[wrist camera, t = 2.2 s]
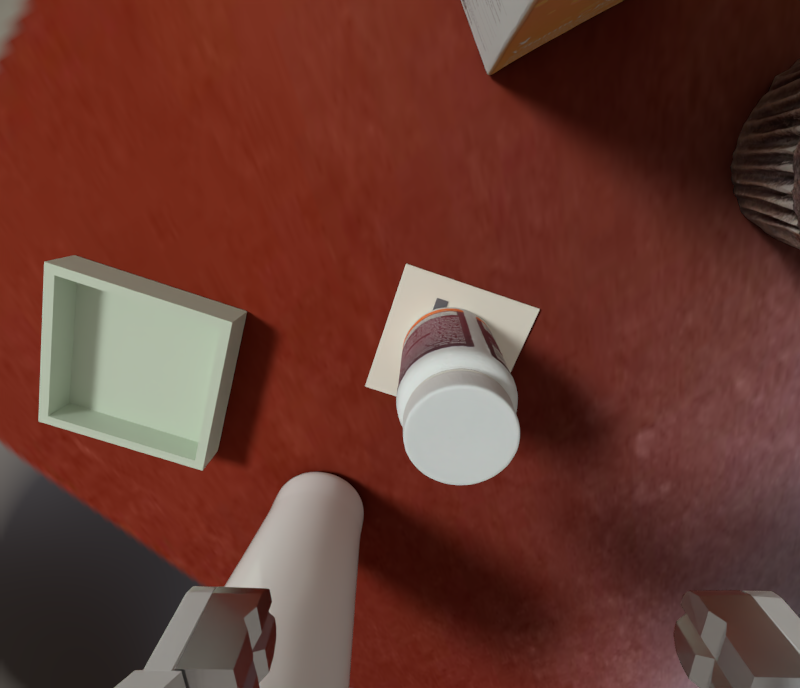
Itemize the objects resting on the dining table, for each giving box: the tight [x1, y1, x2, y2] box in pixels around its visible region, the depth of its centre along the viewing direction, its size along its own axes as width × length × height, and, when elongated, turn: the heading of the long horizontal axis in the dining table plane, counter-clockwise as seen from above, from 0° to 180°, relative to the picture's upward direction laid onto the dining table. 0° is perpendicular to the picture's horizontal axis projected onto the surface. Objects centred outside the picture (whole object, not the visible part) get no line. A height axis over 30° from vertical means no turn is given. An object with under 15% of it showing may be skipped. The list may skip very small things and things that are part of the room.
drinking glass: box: [224, 472, 364, 688], centre depth 20 cm, size 7×7×15 cm
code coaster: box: [365, 264, 540, 396], centre depth 23 cm, size 7×7×1 cm
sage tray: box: [39, 255, 247, 471], centre depth 23 cm, size 9×9×2 cm
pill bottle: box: [396, 307, 520, 485], centre depth 19 cm, size 5×5×8 cm
